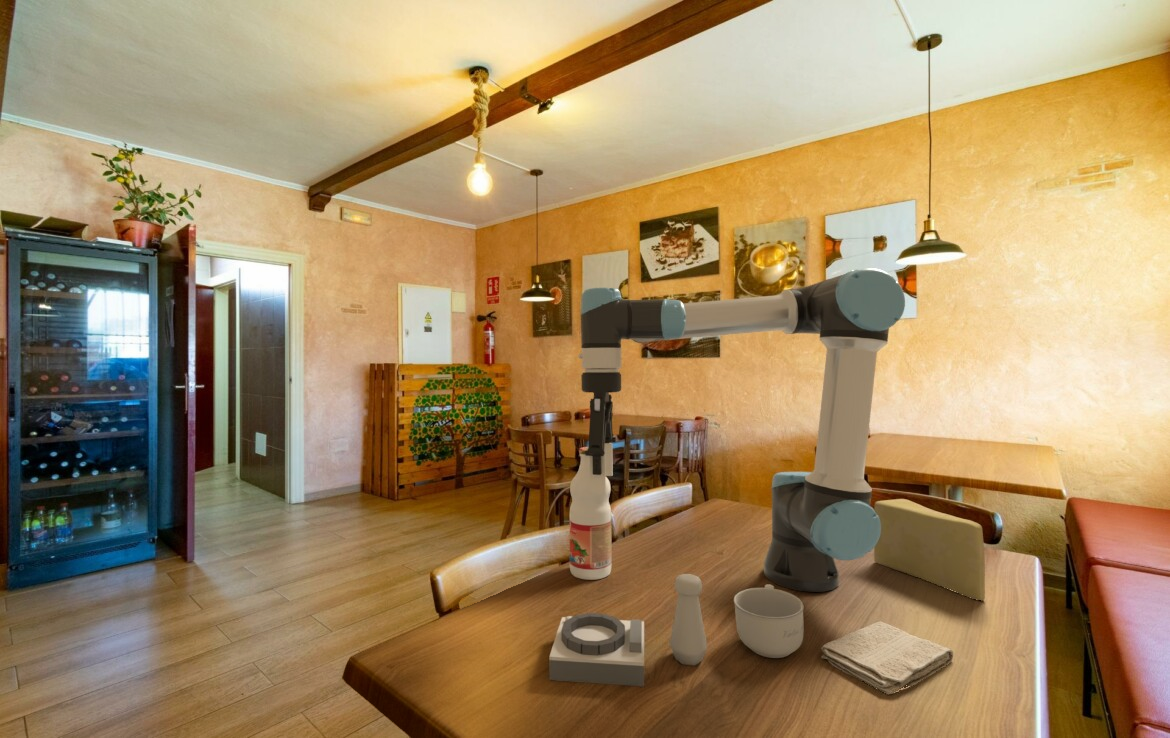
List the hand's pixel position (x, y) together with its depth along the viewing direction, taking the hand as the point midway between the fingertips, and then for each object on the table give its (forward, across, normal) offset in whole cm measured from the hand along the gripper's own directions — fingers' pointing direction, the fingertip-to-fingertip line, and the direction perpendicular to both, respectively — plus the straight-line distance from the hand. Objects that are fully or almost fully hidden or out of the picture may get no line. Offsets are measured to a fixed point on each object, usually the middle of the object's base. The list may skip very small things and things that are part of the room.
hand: (602, 483), depth 97 cm
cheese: (+25, -24, +69) cm, 77 cm away
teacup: (+25, +7, +29) cm, 39 cm away
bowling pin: (+25, +14, +15) cm, 32 cm away
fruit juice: (+24, -18, -5) cm, 31 cm away
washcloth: (+25, +10, +46) cm, 53 cm away
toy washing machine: (+24, +16, +1) cm, 29 cm away
